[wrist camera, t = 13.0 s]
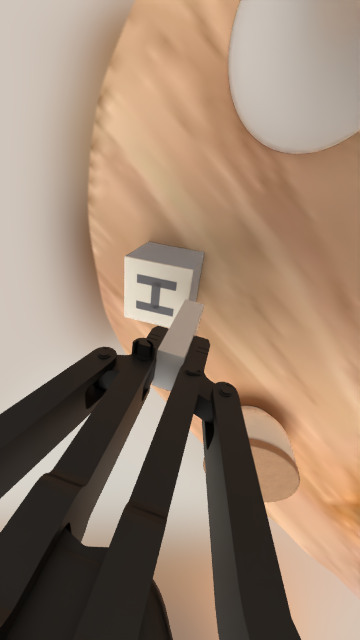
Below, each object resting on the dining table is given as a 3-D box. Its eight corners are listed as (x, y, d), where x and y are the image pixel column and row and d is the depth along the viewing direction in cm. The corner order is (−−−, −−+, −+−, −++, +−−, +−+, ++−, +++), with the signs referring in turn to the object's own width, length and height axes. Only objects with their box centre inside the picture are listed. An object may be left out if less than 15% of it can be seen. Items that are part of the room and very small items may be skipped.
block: (124, 256, 21) (148, 241, 26) (124, 317, 24) (146, 292, 29) (192, 270, 20) (204, 252, 25) (183, 331, 23) (195, 304, 28)
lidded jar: (200, 398, 35) (186, 461, 27) (279, 387, 31) (288, 458, 23) (225, 447, 39) (219, 515, 31) (298, 444, 35) (312, 521, 27)
